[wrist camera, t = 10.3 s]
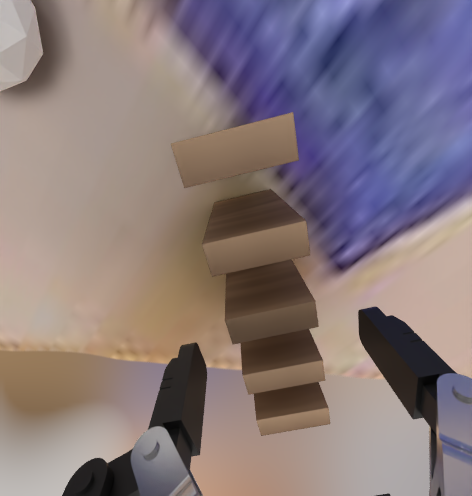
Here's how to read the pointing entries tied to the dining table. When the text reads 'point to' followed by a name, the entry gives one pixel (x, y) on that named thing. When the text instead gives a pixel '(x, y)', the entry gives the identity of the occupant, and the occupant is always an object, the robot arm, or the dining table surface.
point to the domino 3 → (267, 302)
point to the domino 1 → (237, 150)
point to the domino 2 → (253, 233)
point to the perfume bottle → (18, 42)
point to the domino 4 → (281, 362)
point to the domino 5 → (291, 409)
